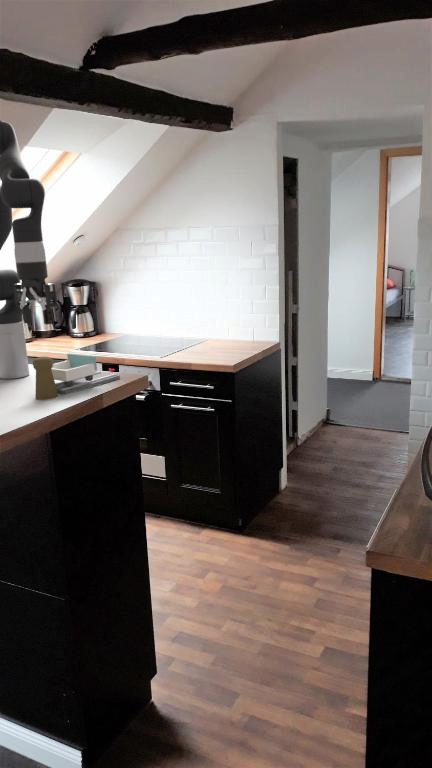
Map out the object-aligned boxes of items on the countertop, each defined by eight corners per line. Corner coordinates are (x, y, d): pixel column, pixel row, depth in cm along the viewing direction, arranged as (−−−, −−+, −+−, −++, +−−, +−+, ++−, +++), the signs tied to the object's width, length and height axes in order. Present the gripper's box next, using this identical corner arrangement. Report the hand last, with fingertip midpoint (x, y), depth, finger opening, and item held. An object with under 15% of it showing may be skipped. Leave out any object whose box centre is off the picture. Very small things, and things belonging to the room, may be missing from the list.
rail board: (42, 390, 170) (41, 386, 170) (96, 375, 187) (96, 371, 186) (65, 394, 164) (65, 389, 164) (120, 378, 181) (119, 374, 181)
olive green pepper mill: (52, 400, 160) (47, 359, 157) (31, 400, 161) (26, 359, 158) (62, 394, 165) (57, 355, 163) (41, 394, 167) (37, 355, 164)
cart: (41, 384, 170) (38, 360, 169) (71, 376, 179) (69, 353, 178) (67, 388, 164) (64, 363, 162) (97, 379, 173) (95, 356, 171)
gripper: (60, 259, 153) (67, 322, 157) (25, 260, 162) (32, 320, 165) (36, 260, 147) (44, 326, 151) (1, 261, 156) (9, 324, 160)
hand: (38, 323), depth 158 cm, fingers open, 8 cm apart
